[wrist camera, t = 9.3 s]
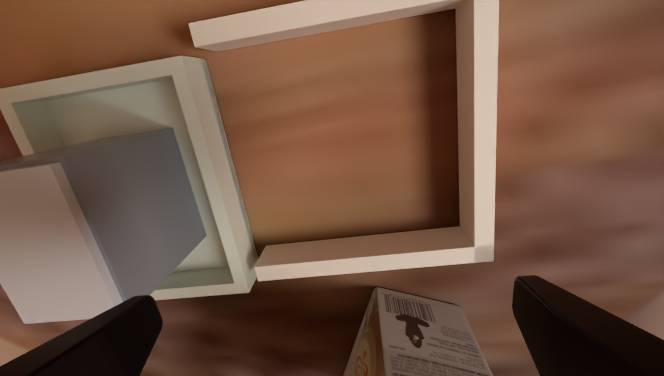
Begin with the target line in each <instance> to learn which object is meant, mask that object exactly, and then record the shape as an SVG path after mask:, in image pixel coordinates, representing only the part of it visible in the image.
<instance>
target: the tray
mask: <svg viewBox="0 0 664 376" xmlns="http://www.w3.org/2000/svg"><path fill="white" fill-rule="evenodd" d="M0 110H1V112H2V114H3V116H4V118H5V120H6V122H7V124H8V126H9V128H10V131H11V133H12V135H13V137H14V139H15V141H16V143H17V145H18V147H19V149H20V151H21V153H22V155H23V156H24V155H29V154H33V153H38V152H42V151H47V150H51V149H55V148H60V147H64V146H69V145H73V144H77V143H82V142H86V141H91V140H95V139H102V138H108V137H115V136H121V135H128V134H134V133H141V132H147V131H154V130H160V129H167V128H173V130H174V134H175V137H176V140H177V143H178V146H179V149H180V153H181V156H182V159H183V162H184V165H185V168H186V171H187V175H188V178H189V181H190V184H191V187H192V190H193V194H194V197H195V200H196V203H197V206H198V209H199V212H200V216H201V219H202V222H203V225H204V228H205V231H206V234H207V236H206V237H205V238H204V239H203V240H202V241H201V242H200V243H199V244H198V245H197V246H196V247H195V249H194V250H193V251H192V252H191V253H190V254H189V255H188V256H187V257H186V258H185V259H184V260H183V261H182V262H181V263H180V264H179V265H178V266H177V267H176V268H175V269H174V270H173V271H172V272H171V274H170V275H169V276H168V277H167V278H166V279H165V280H164V281H163V282H162V283H161V284H160V285H159V286H158V287H157V288H156V289H155V290H154V291H153V292H152V293H151V294H150V296H152V297H153V298H154V299H155V300H165V299H177V298H190V297H202V296H214V295H226V294H239V293H249V292H250V290H251V288H252V286H253V284H254V282H255V280H256V278H257V275H256V272H255V268H254V267H255V265H256V263H257V261H258V255H257V252H256V248H255V244H254V240H253V236H252V233H251V229H250V225H249V221H248V217H247V214H246V210H245V206H244V202H243V198H242V195H241V191H240V187H239V183H238V179H237V176H236V172H235V168H234V164H233V160H232V157H231V153H230V149H229V145H228V141H227V138H226V134H225V130H224V126H223V122H222V119H221V115H220V111H219V107H218V103H217V100H216V96H215V92H214V88H213V84H212V81H211V77H210V73H209V69H208V65H207V62H206V59H201V58H194V57H188V56H176V57H171V58H165V59H160V60H155V61H149V62H144V63H138V64H133V65H127V66H122V67H116V68H111V69H105V70H100V71H94V72H89V73H83V74H78V75H73V76H67V77H62V78H56V79H51V80H45V81H40V82H34V83H29V84H23V85H18V86H12V87H7V88H1V89H0Z"/></svg>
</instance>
